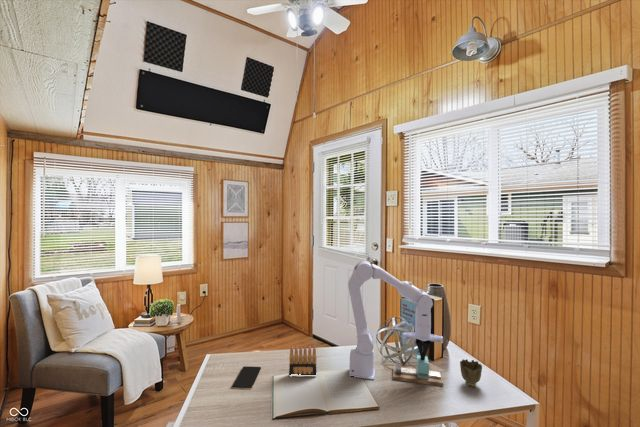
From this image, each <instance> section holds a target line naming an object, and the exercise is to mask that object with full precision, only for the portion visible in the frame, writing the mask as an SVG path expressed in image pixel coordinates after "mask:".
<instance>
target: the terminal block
mask: <svg viewBox="0 0 640 427" xmlns="http://www.w3.org/2000/svg"><path fill="white" fill-rule="evenodd" d="M416 368H417V374H418V378H423V379H429V370H430V363H429V357H428V356H427V355H426V356H425V360H421V356H420V354H418V355H417V354H416Z"/></svg>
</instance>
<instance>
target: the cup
mask: <svg viewBox="0 0 640 427" xmlns="http://www.w3.org/2000/svg"><path fill="white" fill-rule="evenodd" d="M459 364H460V365H459V366H460V367H459V368H460V373H461V376H462V379H464V382H465V385H466V386H467V387H470V388H475V387H476V386H477V384H478V383H479V381H480V380H481V377H482V370H483V365H482V364H481V363H479V362H478V361H475V360H474V359H472V360H468V359H462V360H460V361H459Z"/></svg>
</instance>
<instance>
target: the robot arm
mask: <svg viewBox="0 0 640 427" xmlns="http://www.w3.org/2000/svg"><path fill="white" fill-rule="evenodd" d="M371 278H372V280H378V279H380V280H382V281H383V282H384V283H387V284H388V285H390V286H392V287H394V288H396V289H397V293H398V294H399V295H400V296H402V297H403V298H405V299H406V300H408V301H409V302H411V303H415V311H414V312H415V316H414V318H415V319H414V320H415V321H414V322H415V324H414V330H415V331H414V332H403V335H402V336H403V340H414V341H415V344H416V346H417V348H418V351H419V355H420V356H421V360H425V356H427V354H428V350H429V348H430V347H431V342H433V343H434V342H436V343H441V344H444V337H443V336H442V335H437V334H433V333H431V329H432V312H431V311H432V310H431V309H432V308H433V306H434V302H433V299H432V297H431V296H430V295H429V294H428V293H427V292H426V291H425V290H423V289H422V288H420V289H419V288H418V287H417V286H415V285H413V282H411V281H407V280H403V281H401V280H400V279H398V278H396V277H395V276H394V275H392V274H391V273H389V272H387V271H386V270H385V269H383V268H382V267H380V266H378V265H376V264H375V263H371V262H369V260H365V259H363V260H360V261H359V262H357V264H356V265H355V266H354V267H353V270H352V272H351V275H350V277H349V279H348V282H347V283H348V284H347V287H348V288H347V289H348V291H349V297H350V302H351V307H352V313H353V318H354V323H355V328H356V347H355V348H352V349H350V352H349V374H348V376H349V377H351V376H354V377H353V378H360V379H365V380H366V379H367V380H374V379H375V377H376V376H375V374H376V368H375V349H374V344H373V334H372V333H371V332H370V330H369V326H368V321H367V317H366V311H365V306H364V301H363V297H362V296H363V295H362V290H361V288H362V286H363V285H364V284H365V283H366V282H368V280H370V279H371Z"/></svg>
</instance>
